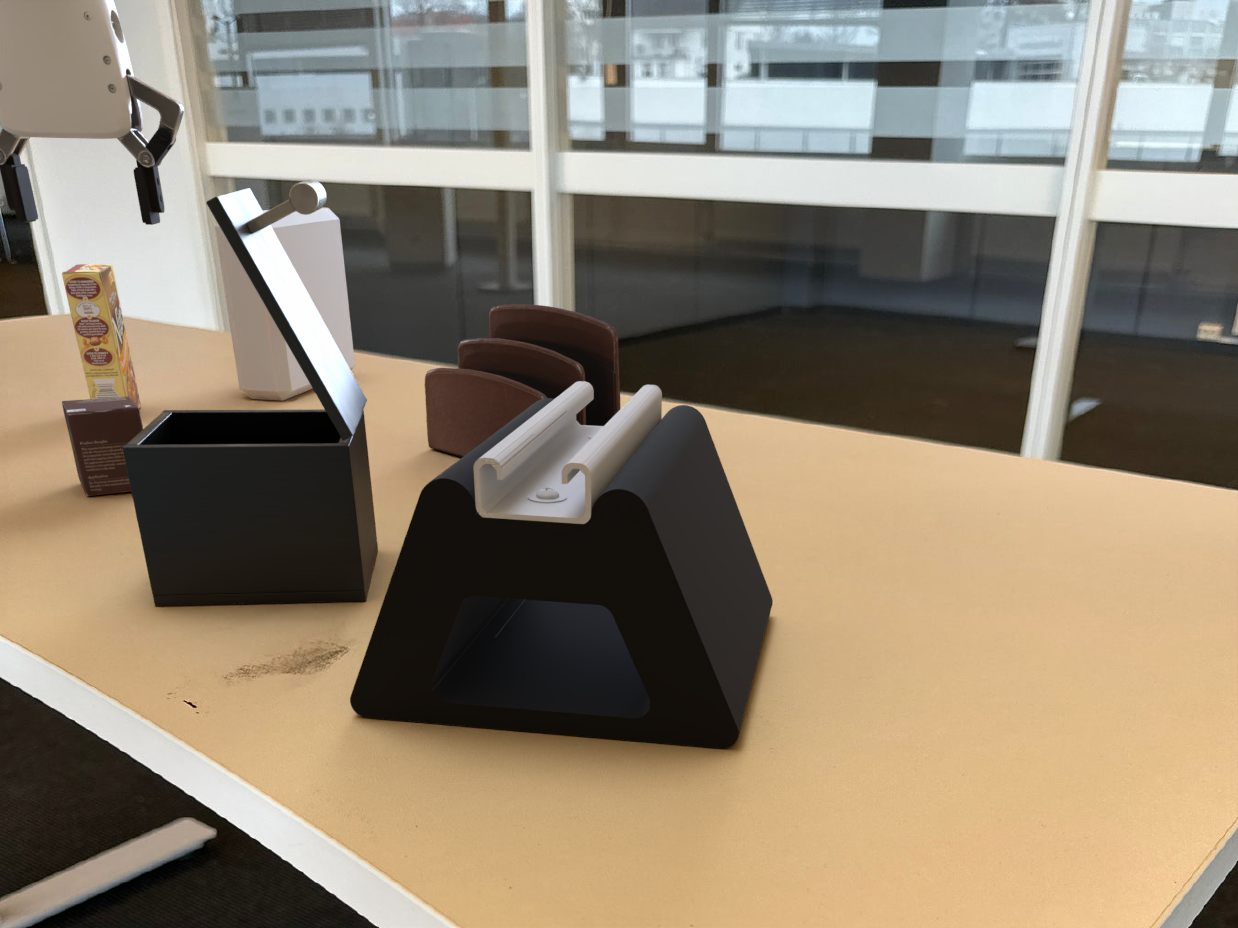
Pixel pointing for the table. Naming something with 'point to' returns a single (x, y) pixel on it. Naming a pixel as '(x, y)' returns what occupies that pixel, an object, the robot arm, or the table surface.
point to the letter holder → (521, 374)
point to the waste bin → (253, 507)
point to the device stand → (575, 585)
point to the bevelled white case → (253, 330)
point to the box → (102, 441)
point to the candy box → (100, 331)
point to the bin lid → (291, 295)
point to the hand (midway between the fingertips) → (90, 222)
